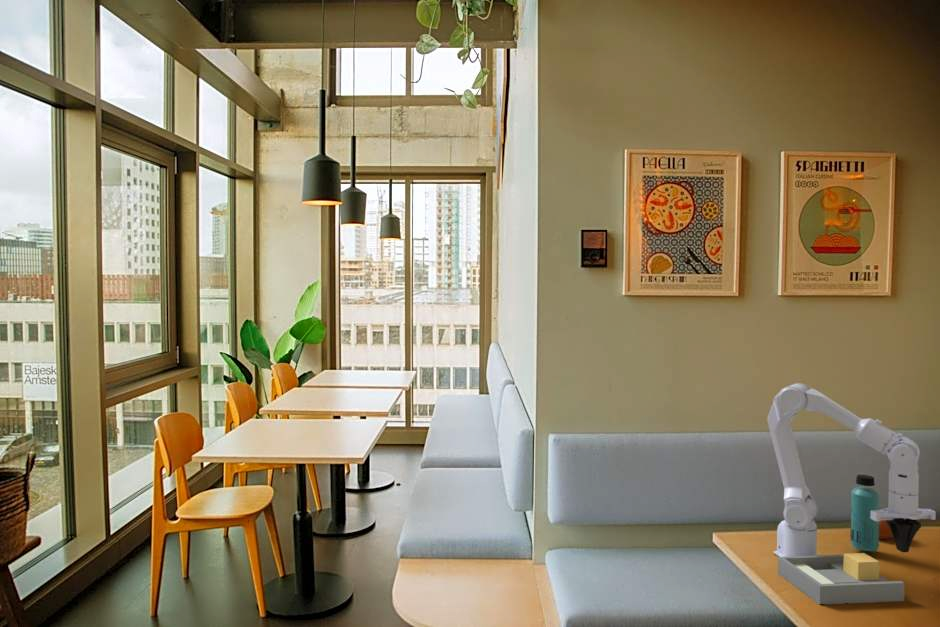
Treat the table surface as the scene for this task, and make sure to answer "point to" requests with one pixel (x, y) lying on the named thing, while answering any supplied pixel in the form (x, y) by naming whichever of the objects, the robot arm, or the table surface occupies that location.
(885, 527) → the fruit
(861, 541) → the beverage bottle
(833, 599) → the box
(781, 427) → the robot arm
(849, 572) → the block
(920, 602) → the table surface
